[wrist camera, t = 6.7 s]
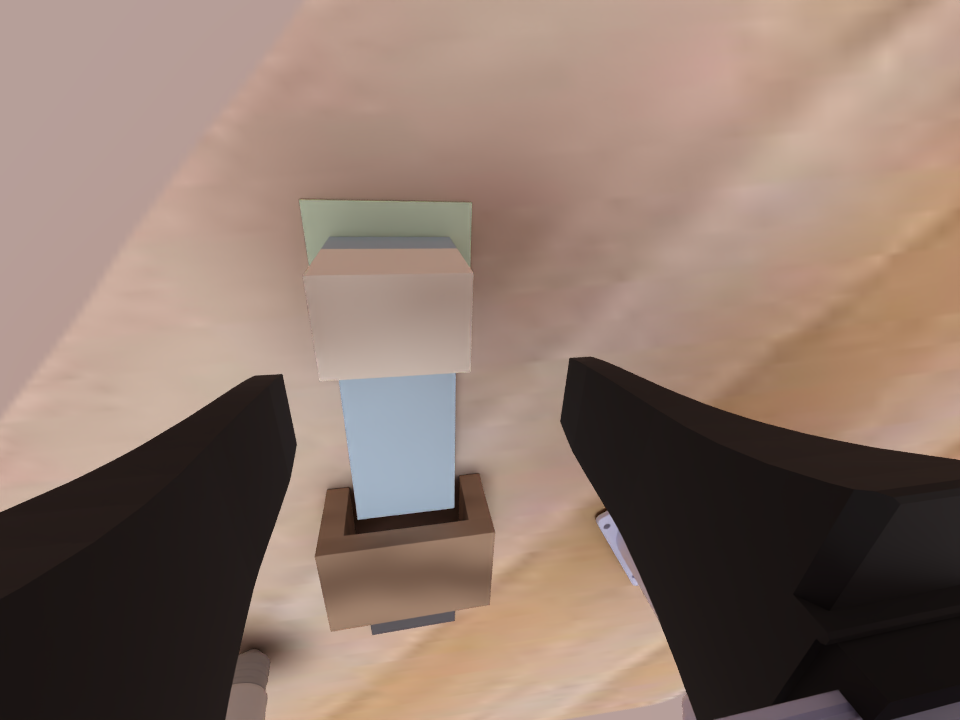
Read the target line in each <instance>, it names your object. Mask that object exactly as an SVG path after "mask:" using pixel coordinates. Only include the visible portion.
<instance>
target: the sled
mask: <svg viewBox="0 0 960 720" xmlns="http://www.w3.org/2000/svg"><path fill="white" fill-rule="evenodd" d="M473 274H474V273H473V272H472V270H471V269H470V267H469V266H468V264H467V263H466V261H465V260H464V258H463V257H462V255H461V254H460V252H459V251H458V249H457V248H456V246H455V245H454V243H453V242H452V240H451V239H450V237H329V238H328V239H327V241H326V242H325V244H324V245H323V247H322V248H321V250H320V251H319V252H318V254H317V255H316V257H315V258H314V260H313V261H312V263H311V264H310V266H309V267H308V268H307V270H306V271H305V273H304V274H303V282H304V288H305V294H306V300H307V307H308V313H309V319H310V325H311V332H312V338H313V344H314V350H315V356H316V363H317V369H318V375H319V381H334V380H339V385H340V393H341V400H342V408H343V415H344V422H345V430H346V437H347V444H348V452H349V459H350V466H351V474H352V481H353V488H354V496H355V503H356V510H357V518H358V520H360V519H369V518H377V517H385V516H393V515H401V514H409V513H418V512H426V511H434V510H442V509H450V508H454V487H455V394H456V373H466V372H471V342H472V308H473Z"/></svg>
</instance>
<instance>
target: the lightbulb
mask: <svg viewBox="0 0 960 720" xmlns="http://www.w3.org/2000/svg"><path fill="white" fill-rule="evenodd" d="M269 668H270V659H269V658H268V656H267V655H265V654H263V653H261V651H260V650H257V649H251V650H248V651H247V652H246V653H242V654H240V655H238V660H237V664H236V669H235V674H234V678H233V683H232V688H231V693H230V698H229V703H228V708H227V714H226V719H225V720H265V711H266V705H267V699H268V698H267V693H266V685H267V682H268V676H269Z"/></svg>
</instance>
